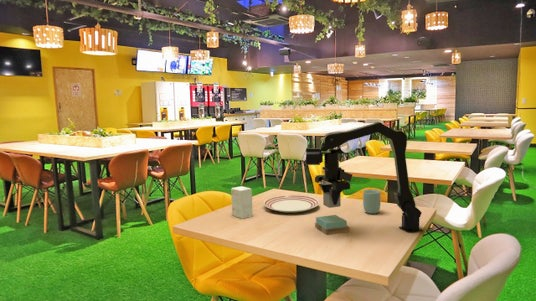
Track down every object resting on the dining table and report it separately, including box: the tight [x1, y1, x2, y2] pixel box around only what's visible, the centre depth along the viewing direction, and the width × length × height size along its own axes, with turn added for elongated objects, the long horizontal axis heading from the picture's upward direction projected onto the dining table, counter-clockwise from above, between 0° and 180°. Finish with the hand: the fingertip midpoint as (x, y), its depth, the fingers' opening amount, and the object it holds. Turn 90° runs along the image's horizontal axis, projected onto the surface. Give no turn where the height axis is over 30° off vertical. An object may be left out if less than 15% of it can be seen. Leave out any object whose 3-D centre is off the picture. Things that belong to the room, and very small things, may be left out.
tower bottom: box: [314, 222, 350, 235], centre depth 154 cm, size 10×10×2 cm
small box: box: [230, 185, 254, 219], centre depth 175 cm, size 8×6×13 cm
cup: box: [362, 189, 382, 215], centre depth 175 cm, size 8×8×10 cm
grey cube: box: [322, 192, 342, 209], centre depth 152 cm, size 5×5×5 cm
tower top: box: [315, 214, 348, 230], centre depth 153 cm, size 9×9×2 cm
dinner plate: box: [263, 194, 320, 214], centre depth 188 cm, size 27×27×3 cm
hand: (331, 203), depth 152 cm, fingers closed on grey cube, 5 cm apart
